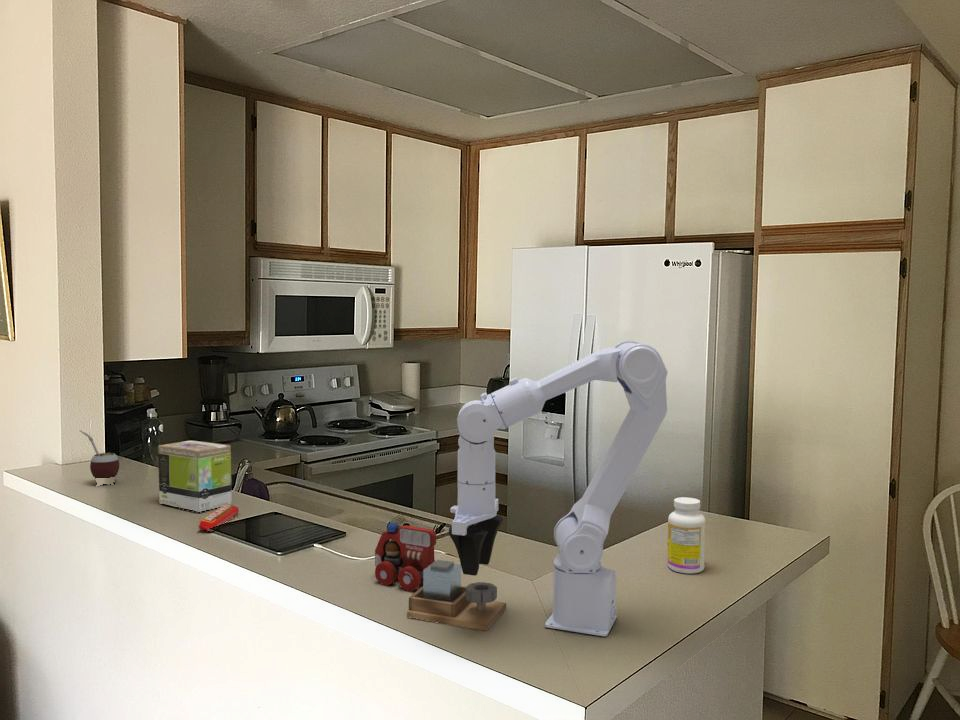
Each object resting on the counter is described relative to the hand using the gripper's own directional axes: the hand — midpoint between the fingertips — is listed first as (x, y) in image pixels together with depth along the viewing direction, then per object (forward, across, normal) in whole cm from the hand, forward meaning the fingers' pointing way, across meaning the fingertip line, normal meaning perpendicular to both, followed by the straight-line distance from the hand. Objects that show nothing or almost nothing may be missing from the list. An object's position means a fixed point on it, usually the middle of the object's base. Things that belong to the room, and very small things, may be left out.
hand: (476, 568), depth 118 cm
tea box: (+9, -40, -88) cm, 97 cm away
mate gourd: (+9, -48, -125) cm, 134 cm away
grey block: (+7, -2, -7) cm, 10 cm away
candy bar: (+9, -29, -72) cm, 78 cm away
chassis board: (+8, -2, -4) cm, 10 cm away
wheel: (+5, -2, 0) cm, 6 cm away
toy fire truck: (+9, -12, -18) cm, 23 cm away
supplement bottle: (+9, -37, +27) cm, 47 cm away
